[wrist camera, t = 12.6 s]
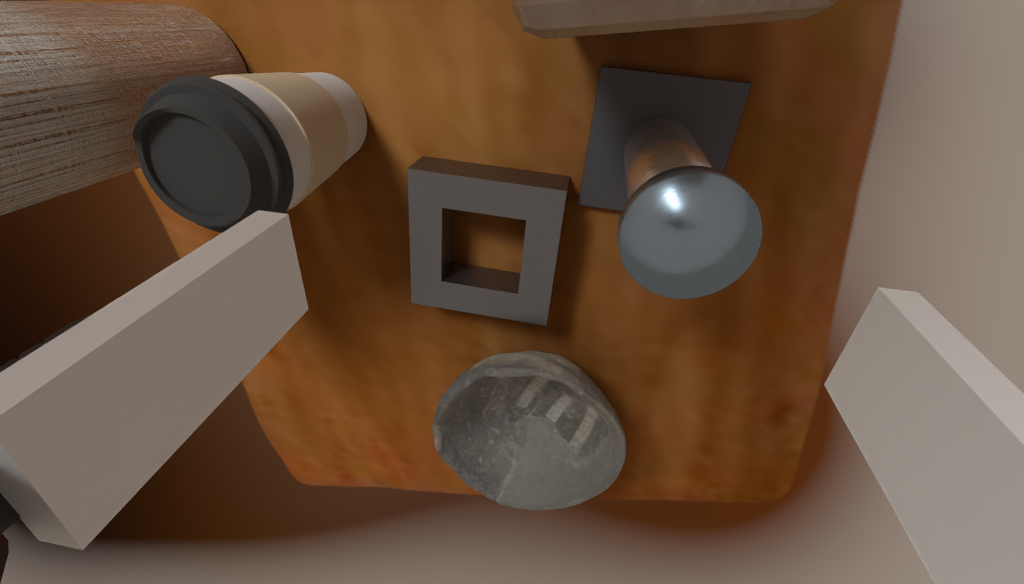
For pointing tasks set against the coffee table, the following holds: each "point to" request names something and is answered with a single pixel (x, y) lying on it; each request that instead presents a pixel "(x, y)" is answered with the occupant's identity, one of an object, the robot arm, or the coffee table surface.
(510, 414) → the bowl
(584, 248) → the coffee table surface
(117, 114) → the planter
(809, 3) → the wooden block
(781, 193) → the coffee table surface
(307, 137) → the coffee cup
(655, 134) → the silver domed cylinder
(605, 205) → the mat
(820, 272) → the coffee table surface
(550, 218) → the frame
